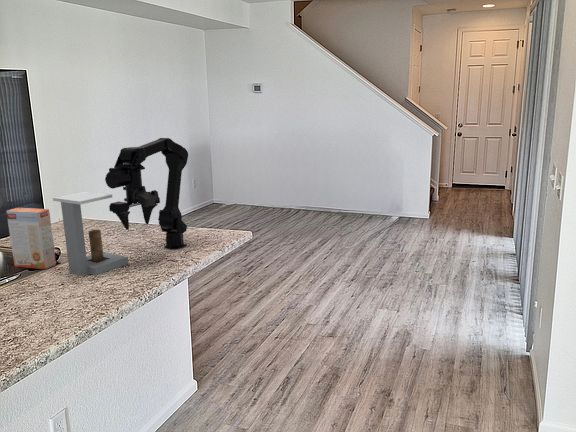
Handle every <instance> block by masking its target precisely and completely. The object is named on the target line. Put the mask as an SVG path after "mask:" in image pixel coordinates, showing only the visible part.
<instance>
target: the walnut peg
mask: <svg viewBox="0 0 576 432" xmlns="http://www.w3.org/2000/svg"><path fill="white" fill-rule="evenodd" d="M88 238H89V247H90V249H89V250H90V255H91V257H92V262H96V263H98V262H101V261H104V256H103V252H104V248H103V241H102V240H103V239H102V230H101V229H91V230H89V231H88Z"/></svg>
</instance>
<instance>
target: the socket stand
mask: <svg viewBox="0 0 576 432" xmlns="http://www.w3.org/2000/svg"><path fill="white" fill-rule="evenodd" d="M111 198H113V194H110V193H102V192H95V191H82V192H75V193H71V194H70V193H69V194H66V195H61V196H55V197H52V201H53V202H59V203H60V205H61V207H60V208H61V215H62V222H63V230H64V237H65V238H64V239H65V246H66V247H65V248H66V254H67V261H68V262H67V263H68V271H69V274H70V275H71V274H72V275H75V276H79V277H82V276H85V275H87V274H89V275H93V276H98V275H101V274H103V273H106V272H109V271H111V270H115V269H117V268H120V267H123V266H125V265H129V258H128V257H129V256H125V255H120V254H115V253H111V252H106V251H103V256H104V261H101V262H98V263H96V262H92V257H91V254H90V255H87V252H86V251H87V249H86V243H85V235H84V234H85V232H84V226H83V225H84V224H83V217H82V207H81V205H84V204H88V203H94V202H98V201H103V200H107V199H111Z"/></svg>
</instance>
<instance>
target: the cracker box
mask: <svg viewBox="0 0 576 432" xmlns="http://www.w3.org/2000/svg"><path fill="white" fill-rule="evenodd" d="M50 214H51V213H50V209H49V208H34V207H14V208H11V209H7V210H6V219H7V225H8V232H9V238H10V239H9V240H10V245H11V251H12V258H13V264H14V265H13V266H14V267H16V268H26V269H34V270H35V269H37V270H47V269H50V268H51V267H54V266H56V265H57V262H56V261H57V260H56V254H55V253H56V252H55V243H54V237H53V230H52V229H53V228H52V222H51V221H52V220H51V215H50Z"/></svg>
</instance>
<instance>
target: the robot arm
mask: <svg viewBox="0 0 576 432" xmlns="http://www.w3.org/2000/svg"><path fill="white" fill-rule="evenodd" d="M158 153H161V154H162V155H163V156H164V158H165V163H166V164H165V165H166V166H167V169H168V175H167V185H166V195H165V205H164V207H163V209H159V211H158V218H157V220H158V225H159V227H160V229H161V232H162V233H163V232H164V233H165V245H164V246H163V248H167V249H172V250H177V249H181V248H184V247H187V243H185V242H184V234H185V232H187V231H188V230H187V228H188V225H187V224H186V223H185V222H184V221H183V220H182V219H183V218H182V217H183V215H182V212H181V210H180V208H179V204H180V193H181V183H182V175H183V173H182V172H183V170H184V169H185V167H186V166H187V164H188V158H189V152H188V150H187V149H186V148H185V147H183V146H182V145H180V144H179V143H177V142H175V141H173V140H172V139H171V138H170V137H159V138H157V139H156V140H155V139H154V140H152V141H150V142H148V143H145V144H142V145H139V146H129V147H122V148H121V149H120V152H119V154H118V157H117V159H116V162H115V163H114V167H110V168H108V172H107V173H106V175H105V178H104V179H105V180H104V181H105V184H106V186H107V187H108V188H109V189H112V190H113V189H117V188H121V187H122V190H123V191H125V195H126V197H125V198H124V200H123V201H115V202H111V203H110V204H109V206H108V207H109V208H108V209H109V212H112V214H115V215H116V216H117V217H118V219H119V220H120V221H121V224H122V225H123V226H124V229H125V230H126V231H129V229H130V223H129V221H130V219H129V215H130V213H131V211H129V210H130V208H132V207H137V206H141V210H142V214H143V215H142V216H143V219H144V223H145V225H148V224H149V222H150V220H151V215H152V212H153V209H154V208H155V207H157V206H158V204H161V197H159V192H158V190H156V189H155V190H151V191H147V190H146V186H145V185H143V181H142V180H143V179H142V170H143V171H144V170H145V169H146V167H145V166H144V165H143V162H145V161H146V160H147V158H148V157H150V156H153V155H155V154H158Z"/></svg>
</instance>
